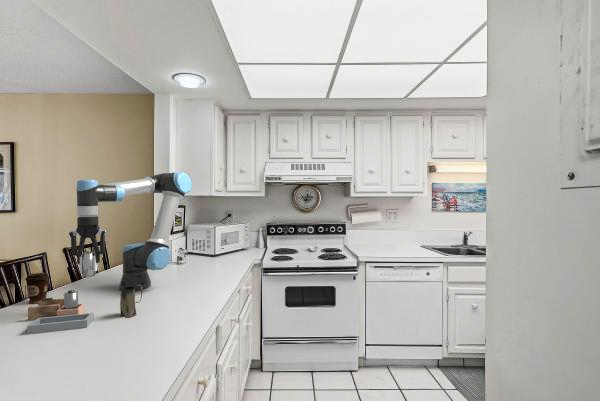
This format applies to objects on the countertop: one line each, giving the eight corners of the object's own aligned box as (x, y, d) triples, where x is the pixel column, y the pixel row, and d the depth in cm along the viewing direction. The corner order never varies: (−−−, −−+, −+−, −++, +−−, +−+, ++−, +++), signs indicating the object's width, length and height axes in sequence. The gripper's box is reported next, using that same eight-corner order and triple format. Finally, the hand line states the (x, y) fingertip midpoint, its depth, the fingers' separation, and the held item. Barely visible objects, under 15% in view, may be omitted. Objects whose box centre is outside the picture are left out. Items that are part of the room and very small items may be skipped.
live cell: (96, 274, 141) (96, 249, 141) (93, 277, 137) (92, 251, 137) (84, 275, 140) (84, 250, 140) (81, 277, 135) (80, 252, 135)
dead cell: (79, 315, 130) (79, 288, 130) (75, 319, 125) (75, 291, 125) (67, 316, 128) (66, 289, 128) (62, 320, 124) (62, 292, 124)
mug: (118, 318, 127) (118, 288, 127) (122, 313, 133) (122, 284, 133) (140, 316, 129) (140, 286, 129) (143, 312, 135) (143, 283, 135)
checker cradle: (69, 310, 137) (69, 296, 137) (60, 319, 127) (59, 303, 127) (38, 313, 134) (38, 298, 134) (26, 322, 124) (26, 306, 124)
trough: (94, 321, 125) (93, 312, 125) (87, 329, 118) (87, 320, 118) (38, 327, 120) (38, 318, 120) (27, 335, 112) (27, 326, 112)
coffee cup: (35, 305, 144) (34, 276, 144) (20, 304, 146) (19, 275, 146) (53, 299, 153) (53, 272, 153) (39, 298, 154) (39, 271, 154)
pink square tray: (84, 315, 131) (84, 303, 131) (78, 321, 125) (78, 308, 125) (64, 317, 129) (64, 305, 129) (57, 324, 123) (56, 310, 122)
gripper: (113, 215, 144) (113, 267, 144) (67, 216, 139) (68, 270, 139) (108, 216, 137) (109, 271, 137) (60, 217, 132) (61, 274, 132)
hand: (88, 271), depth 138 cm, fingers closed on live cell, 4 cm apart
